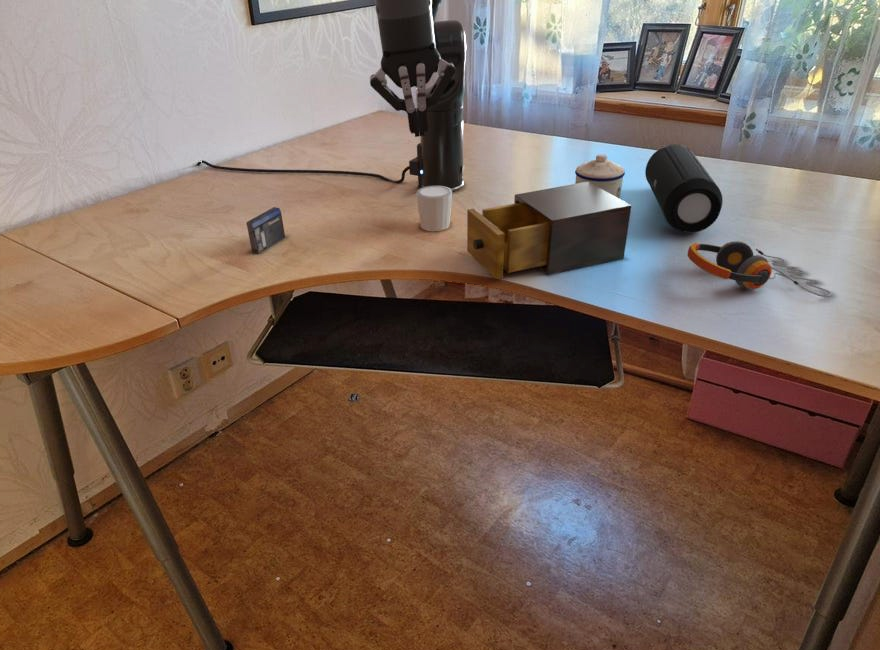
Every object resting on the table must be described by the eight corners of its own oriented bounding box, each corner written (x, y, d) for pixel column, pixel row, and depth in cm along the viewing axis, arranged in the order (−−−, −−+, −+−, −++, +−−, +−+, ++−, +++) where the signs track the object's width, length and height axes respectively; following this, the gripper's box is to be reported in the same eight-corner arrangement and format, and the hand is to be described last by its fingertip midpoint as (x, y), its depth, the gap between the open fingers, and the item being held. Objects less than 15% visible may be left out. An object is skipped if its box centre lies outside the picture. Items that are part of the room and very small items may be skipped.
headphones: (851, 282, 96) (728, 266, 92) (832, 314, 99) (712, 299, 95) (784, 237, 110) (676, 221, 106) (769, 266, 113) (664, 251, 109)
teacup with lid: (620, 223, 124) (629, 163, 118) (571, 222, 126) (577, 162, 120) (615, 201, 134) (623, 143, 128) (570, 200, 136) (575, 143, 129)
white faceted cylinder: (456, 220, 130) (456, 186, 126) (447, 233, 125) (446, 198, 121) (423, 217, 132) (422, 184, 128) (413, 231, 127) (411, 196, 123)
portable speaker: (640, 188, 139) (647, 141, 134) (688, 188, 138) (698, 140, 132) (661, 237, 118) (671, 183, 113) (719, 237, 117) (732, 183, 111)
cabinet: (548, 275, 109) (552, 220, 103) (512, 245, 119) (514, 194, 114) (623, 258, 112) (631, 205, 107) (582, 231, 123) (587, 181, 117)
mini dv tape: (258, 253, 122) (252, 223, 119) (252, 252, 123) (246, 222, 119) (285, 237, 128) (280, 207, 124) (279, 236, 128) (274, 206, 125)
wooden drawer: (489, 280, 106) (490, 236, 102) (460, 252, 116) (460, 210, 111) (569, 263, 110) (573, 220, 105) (535, 237, 119) (537, 196, 115)
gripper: (449, -4, 92) (459, 119, 102) (356, 11, 92) (376, 132, 103) (455, 6, 86) (465, 136, 96) (356, 23, 86) (377, 150, 97)
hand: (419, 134), depth 100 cm, fingers closed
